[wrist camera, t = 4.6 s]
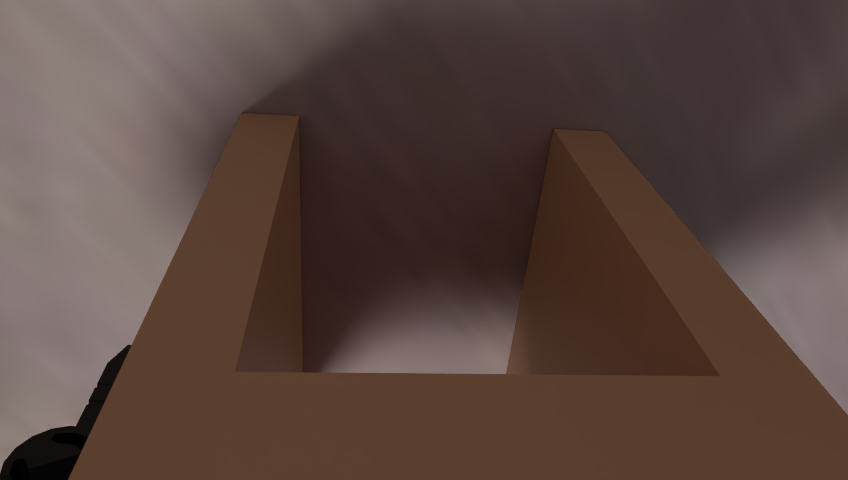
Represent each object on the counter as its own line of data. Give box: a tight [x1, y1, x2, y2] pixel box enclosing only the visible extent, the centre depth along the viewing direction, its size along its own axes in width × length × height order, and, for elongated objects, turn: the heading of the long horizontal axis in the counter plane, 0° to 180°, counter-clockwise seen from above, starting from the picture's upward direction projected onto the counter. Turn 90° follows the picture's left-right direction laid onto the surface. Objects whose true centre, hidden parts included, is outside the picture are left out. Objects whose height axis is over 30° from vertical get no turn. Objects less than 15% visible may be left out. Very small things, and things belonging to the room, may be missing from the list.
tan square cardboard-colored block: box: [68, 113, 848, 480], centre depth 12 cm, size 8×8×10 cm
